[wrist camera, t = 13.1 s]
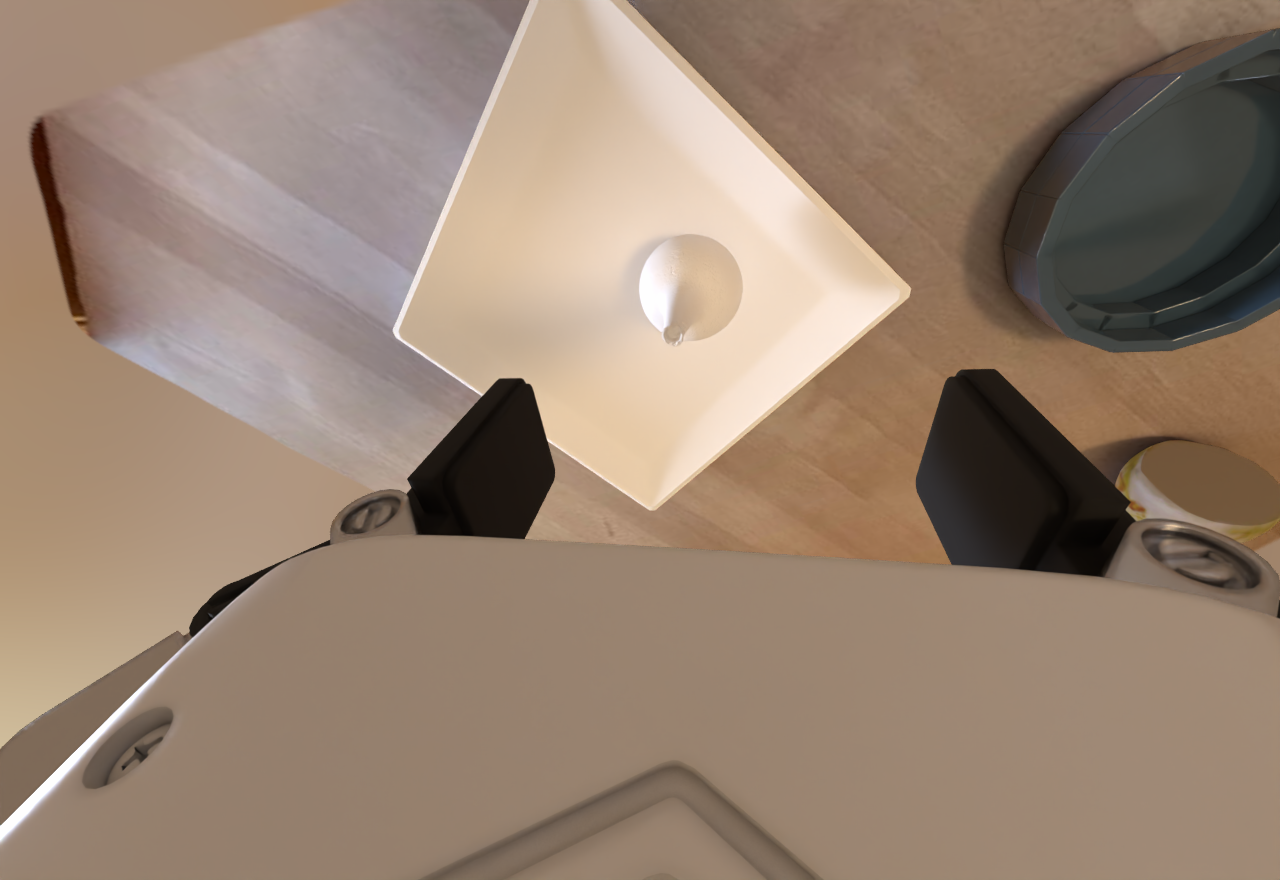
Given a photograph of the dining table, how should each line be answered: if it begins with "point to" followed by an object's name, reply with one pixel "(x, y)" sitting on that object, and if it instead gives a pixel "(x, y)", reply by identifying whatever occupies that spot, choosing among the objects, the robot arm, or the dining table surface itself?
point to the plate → (631, 253)
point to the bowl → (1160, 205)
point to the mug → (1201, 489)
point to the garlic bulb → (690, 288)
